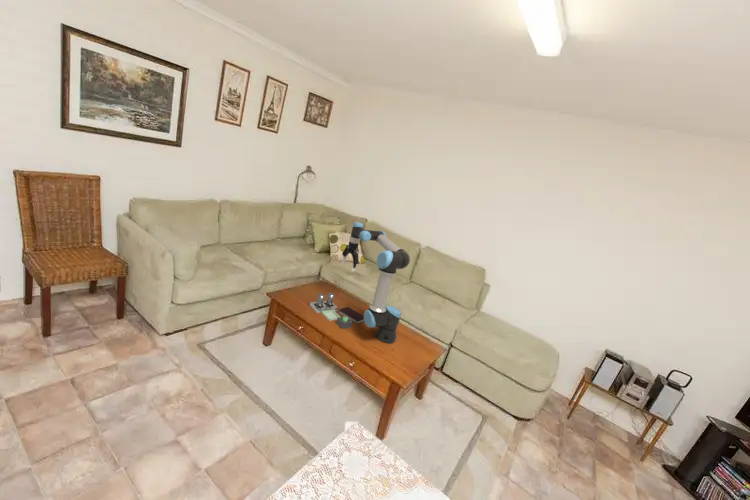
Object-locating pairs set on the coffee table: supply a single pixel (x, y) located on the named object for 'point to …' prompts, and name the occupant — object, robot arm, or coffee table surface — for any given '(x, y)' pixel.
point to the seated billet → (330, 299)
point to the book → (352, 314)
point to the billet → (320, 300)
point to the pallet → (323, 307)
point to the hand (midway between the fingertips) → (347, 267)
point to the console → (344, 323)
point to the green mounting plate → (330, 315)
